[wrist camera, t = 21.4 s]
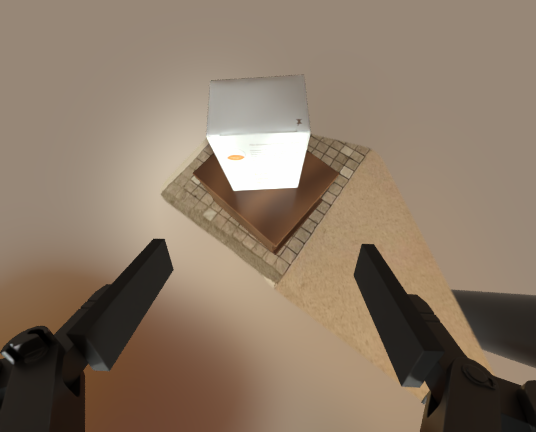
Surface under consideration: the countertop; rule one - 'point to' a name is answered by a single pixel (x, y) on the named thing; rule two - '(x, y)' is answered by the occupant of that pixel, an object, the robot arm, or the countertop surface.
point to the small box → (259, 130)
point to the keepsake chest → (269, 200)
